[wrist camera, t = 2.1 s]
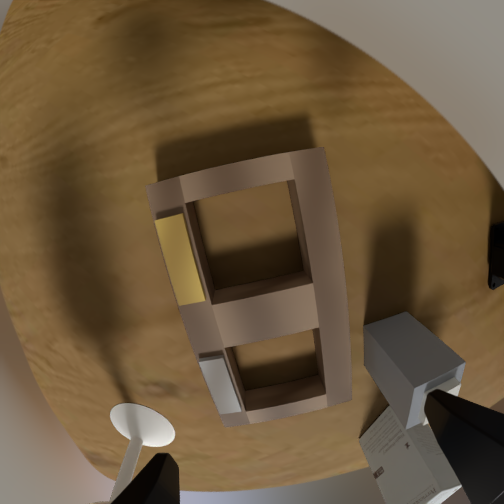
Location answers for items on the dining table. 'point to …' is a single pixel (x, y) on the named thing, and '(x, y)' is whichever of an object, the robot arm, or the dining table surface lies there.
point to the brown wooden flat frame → (260, 287)
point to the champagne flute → (137, 437)
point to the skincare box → (407, 462)
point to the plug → (409, 365)
